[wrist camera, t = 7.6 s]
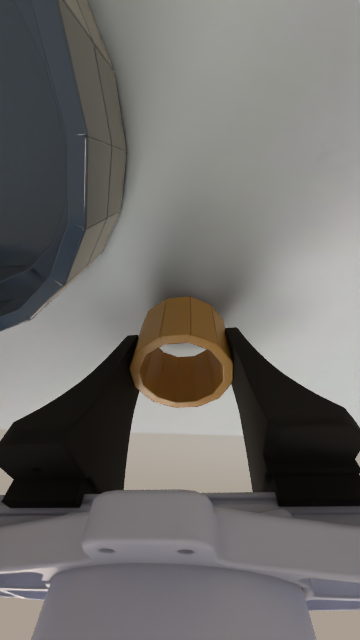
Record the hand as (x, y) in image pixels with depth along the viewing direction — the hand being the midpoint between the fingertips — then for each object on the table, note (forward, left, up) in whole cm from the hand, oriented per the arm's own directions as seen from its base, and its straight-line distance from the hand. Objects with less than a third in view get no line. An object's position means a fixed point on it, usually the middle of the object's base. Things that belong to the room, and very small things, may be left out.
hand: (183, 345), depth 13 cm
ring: (0, 0, -1) cm, 1 cm away
